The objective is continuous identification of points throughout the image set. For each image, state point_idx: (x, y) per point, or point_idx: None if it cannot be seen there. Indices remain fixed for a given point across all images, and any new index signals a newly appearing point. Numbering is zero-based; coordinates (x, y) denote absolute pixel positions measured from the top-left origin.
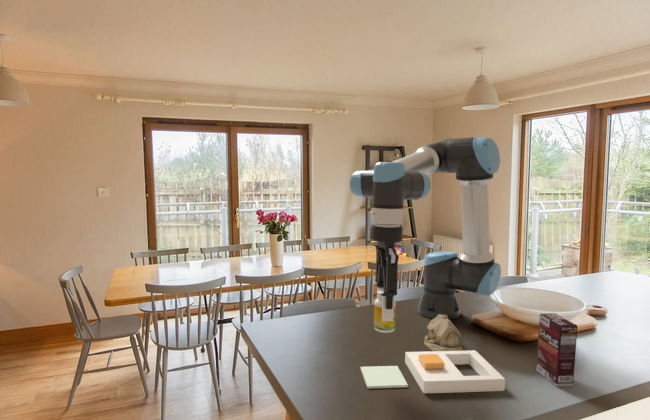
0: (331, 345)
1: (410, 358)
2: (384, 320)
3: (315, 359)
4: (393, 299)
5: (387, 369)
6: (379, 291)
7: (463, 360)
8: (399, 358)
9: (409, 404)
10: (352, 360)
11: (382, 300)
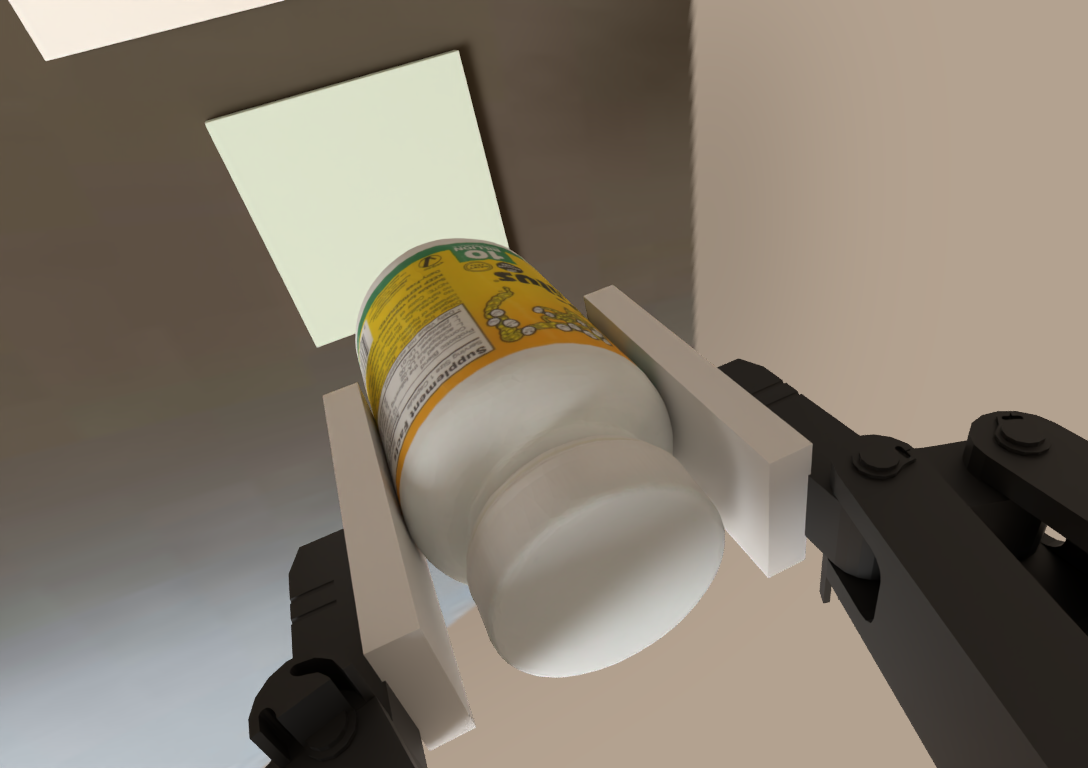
0: (57, 562)
1: (176, 17)
2: None
3: (292, 553)
4: (767, 413)
5: (293, 189)
6: (590, 656)
7: None
8: (6, 102)
9: (618, 49)
10: (221, 404)
11: (725, 518)
